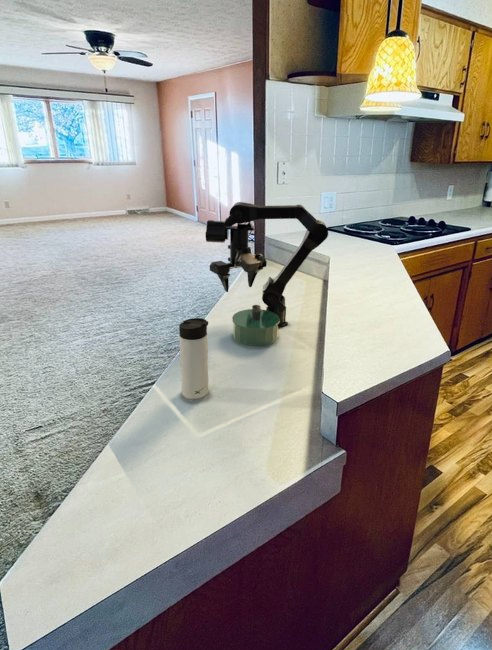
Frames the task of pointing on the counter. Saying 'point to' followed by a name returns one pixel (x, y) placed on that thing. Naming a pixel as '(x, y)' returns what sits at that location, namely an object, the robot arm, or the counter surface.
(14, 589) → the counter surface
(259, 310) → the lid
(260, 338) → the pot
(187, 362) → the travel mug
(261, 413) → the counter surface
